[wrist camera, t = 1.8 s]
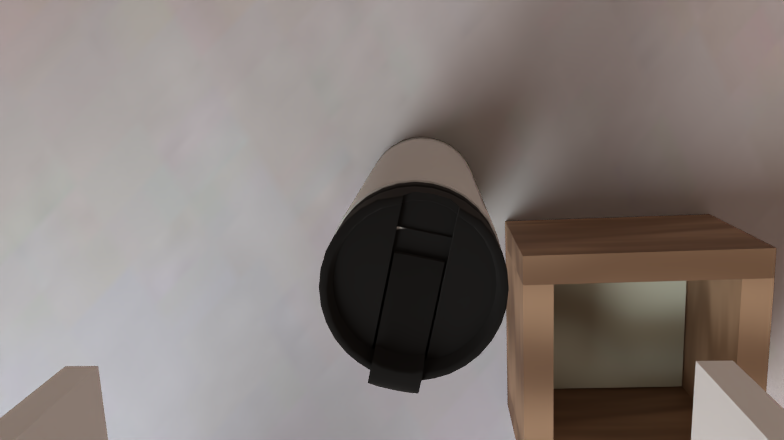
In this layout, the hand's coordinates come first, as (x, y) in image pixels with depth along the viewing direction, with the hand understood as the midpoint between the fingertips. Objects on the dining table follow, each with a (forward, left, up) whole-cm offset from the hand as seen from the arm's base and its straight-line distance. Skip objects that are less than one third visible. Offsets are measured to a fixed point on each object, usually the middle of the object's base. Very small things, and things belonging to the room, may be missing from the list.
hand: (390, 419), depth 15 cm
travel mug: (-1, 0, -27) cm, 27 cm away
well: (+7, +11, -27) cm, 30 cm away
